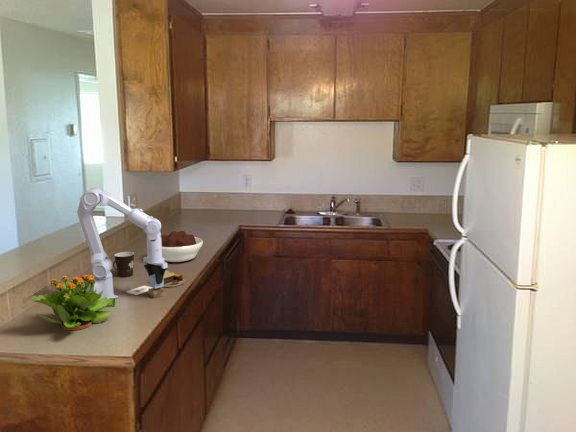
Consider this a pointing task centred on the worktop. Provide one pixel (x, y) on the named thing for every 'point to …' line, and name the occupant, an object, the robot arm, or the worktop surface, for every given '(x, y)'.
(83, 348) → the worktop surface
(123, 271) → the coffee mug
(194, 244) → the bowl of brownies
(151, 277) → the blue block
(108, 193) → the robot arm
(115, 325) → the worktop surface
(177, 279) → the toy sandwich meal
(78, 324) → the potted flower
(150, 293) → the walnut block
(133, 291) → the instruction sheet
